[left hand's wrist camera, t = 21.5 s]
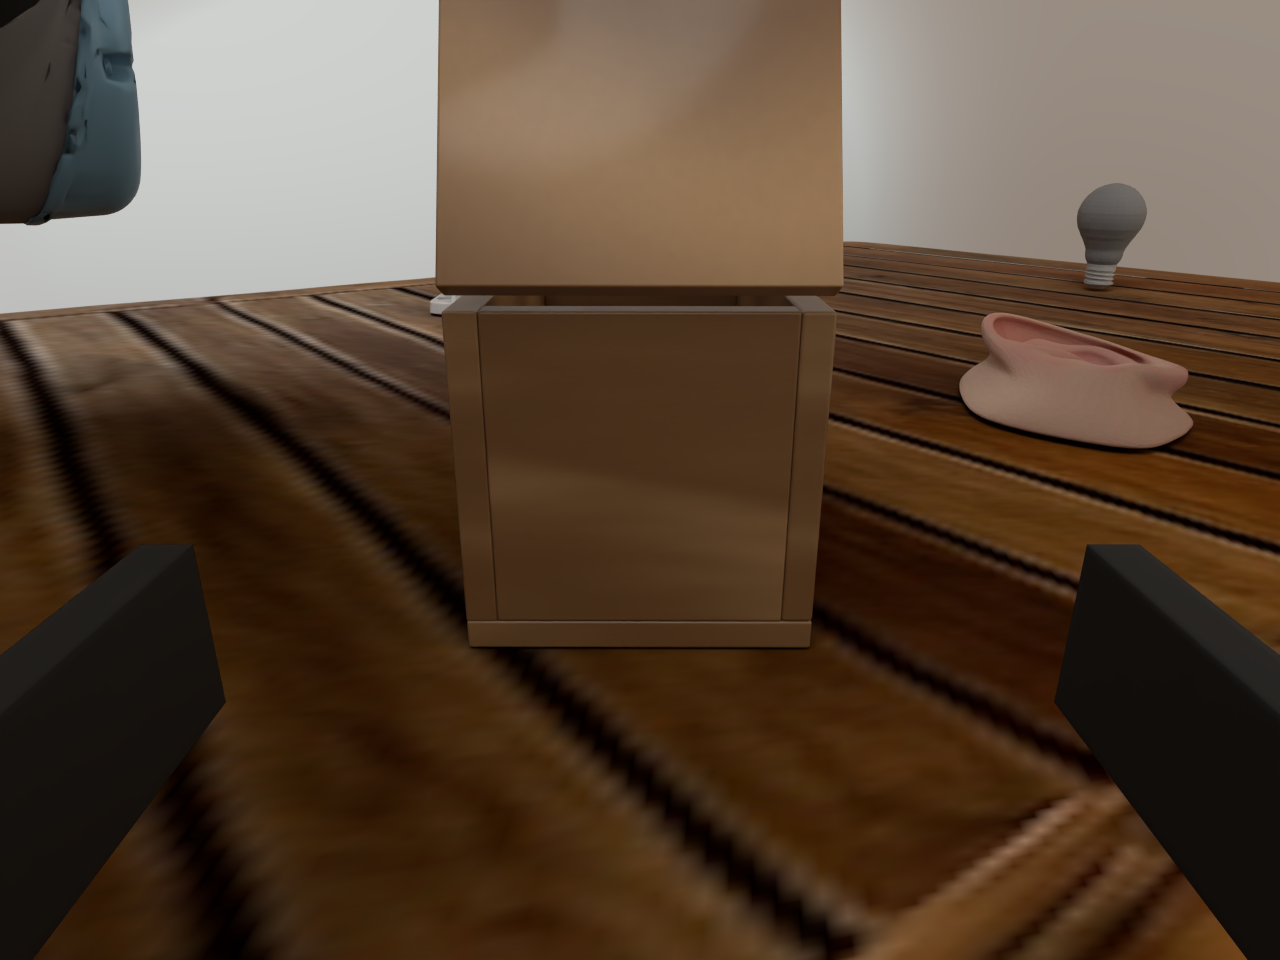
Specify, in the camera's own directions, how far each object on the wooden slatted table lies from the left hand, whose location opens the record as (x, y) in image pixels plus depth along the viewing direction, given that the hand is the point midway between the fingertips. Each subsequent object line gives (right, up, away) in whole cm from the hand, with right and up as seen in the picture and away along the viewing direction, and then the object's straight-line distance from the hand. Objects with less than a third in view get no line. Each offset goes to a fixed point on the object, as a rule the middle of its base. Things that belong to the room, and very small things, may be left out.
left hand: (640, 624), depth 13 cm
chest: (0, 0, +19) cm, 19 cm away
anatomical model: (+23, +6, +34) cm, 41 cm away
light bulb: (+46, +21, +74) cm, 90 cm away
